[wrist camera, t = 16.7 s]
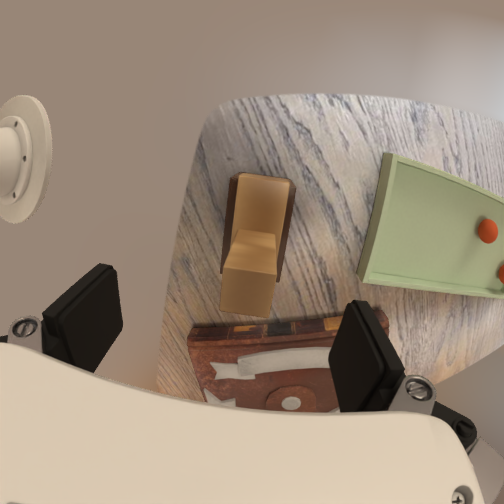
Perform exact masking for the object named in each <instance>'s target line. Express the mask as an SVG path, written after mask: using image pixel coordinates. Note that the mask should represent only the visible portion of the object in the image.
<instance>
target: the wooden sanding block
mask: <svg viewBox="0 0 504 504" xmlns="http://www.w3.org/2000/svg"><path fill="white" fill-rule="evenodd" d="M289 187H290V183H289V181H288V180H287V179H283V178H277V177H270V176H263V175H256V174H249V173H242V174H241V175H239V178H238V186H237V194H236V202H235V210H234V219H233V227H232V236H231V245H230V251H229V254H228V256H227V259H226V261H225V264H224V266H223V273H222V284H221V295H220V306H219V310H220V311H224V312H230V313H236V314H243V315H249V316H256V317H263V318H268V317H269V314H270V309H271V304H272V299H273V293H274V288H275V283H276V278H277V258H278V252H279V246H280V241H281V235H282V229H283V223H284V217H285V211H286V205H287V199H288V193H289Z"/></svg>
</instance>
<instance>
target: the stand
mask: <svg viewBox="0 0 504 504" xmlns="http://www.w3.org/2000/svg"><path fill="white" fill-rule="evenodd" d="M242 173H244V172H239V173H237V174H235V175H234V176H232V177H231V178H230V183H229V192H228V200H227V209H226V218H225V228H224V237H223V247H222V257H221V268H220V274H222V273H223V266H224V264H225V261H226V259H227V256H228V254H229V251H230V245H231V236H232V227H233V219H234V210H235V202H236V194H237V186H238V178H239V175H241V174H242ZM249 174H252V173H249ZM256 175H259V174H256ZM263 176H266V175H263ZM270 177H273V176H270ZM277 178H279V177H277ZM283 179H286V178H283ZM287 180H288V181H289V183H290V187H289V193H288V199H287V205H286V211H285V217H284V223H283V229H282V235H281V241H280V246H279V252H278V258H277V278H276V282H279V281H280V276H281V271H282V265H283V260H284V255H285V250H286V244H287V239H288V233H289V228H290V222H291V216H292V211H293V205H294V199H295V193H296V186H295V185H294V183H293V182H292V181H291V180H290V179H287Z"/></svg>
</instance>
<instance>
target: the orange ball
mask: <svg viewBox="0 0 504 504" xmlns="http://www.w3.org/2000/svg"><path fill="white" fill-rule="evenodd" d="M478 235H479V238H480V239H481V240H482V241H483V242H484V243H487V244H490V243H493V242H494V241H495V240H496V238H497V236H498V227H497V225H496V223H495V222H494V221H493V220H491V219H485V220H483V221H482V222H481V223H480V224H479V227H478Z"/></svg>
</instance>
